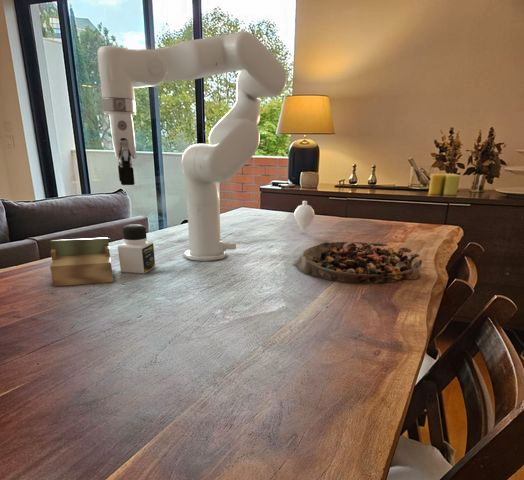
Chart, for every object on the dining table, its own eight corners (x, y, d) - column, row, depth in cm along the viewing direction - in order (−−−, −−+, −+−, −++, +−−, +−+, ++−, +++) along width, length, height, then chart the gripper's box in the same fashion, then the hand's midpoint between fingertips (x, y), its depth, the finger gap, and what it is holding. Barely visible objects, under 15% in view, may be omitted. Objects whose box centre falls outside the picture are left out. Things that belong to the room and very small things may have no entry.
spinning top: (314, 235, 173) (316, 202, 167) (293, 235, 173) (295, 202, 168) (312, 231, 179) (314, 199, 174) (293, 231, 180) (294, 199, 174)
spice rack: (111, 270, 125) (107, 237, 121) (113, 281, 116) (108, 246, 112) (56, 274, 121) (50, 240, 117) (53, 286, 111) (46, 249, 108)
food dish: (439, 272, 131) (444, 245, 128) (380, 301, 110) (385, 269, 106) (338, 248, 152) (341, 224, 149) (272, 268, 131) (273, 241, 127)
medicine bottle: (144, 274, 122) (140, 228, 117) (120, 272, 124) (114, 227, 118) (155, 267, 129) (151, 223, 124) (132, 265, 130) (127, 222, 125)
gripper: (138, 106, 104) (144, 186, 111) (133, 110, 119) (139, 180, 126) (103, 105, 101) (112, 186, 109) (102, 109, 116) (110, 180, 124)
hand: (126, 183), depth 117 cm, fingers open, 9 cm apart
